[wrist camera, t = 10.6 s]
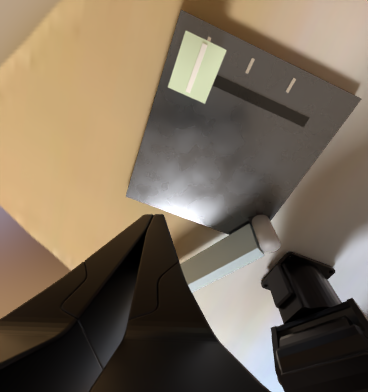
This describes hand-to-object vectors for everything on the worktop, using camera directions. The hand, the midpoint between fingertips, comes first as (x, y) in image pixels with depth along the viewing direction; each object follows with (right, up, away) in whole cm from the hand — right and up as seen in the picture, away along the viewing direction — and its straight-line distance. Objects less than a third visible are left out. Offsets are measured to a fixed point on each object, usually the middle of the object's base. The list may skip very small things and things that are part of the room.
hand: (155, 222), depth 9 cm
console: (+5, +5, +11) cm, 13 cm away
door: (+5, -5, +15) cm, 17 cm away
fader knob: (+2, +11, +7) cm, 13 cm away
